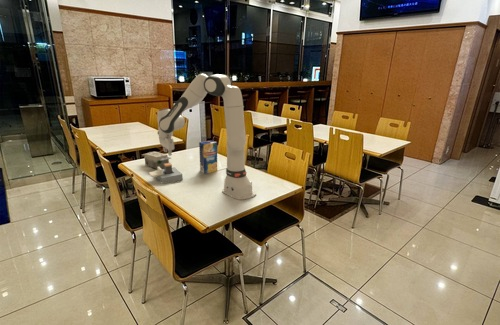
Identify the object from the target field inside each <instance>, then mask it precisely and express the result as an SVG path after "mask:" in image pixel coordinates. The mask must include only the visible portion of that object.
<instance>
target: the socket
mask: <svg viewBox="0 0 500 325" xmlns="http://www.w3.org/2000/svg"><path fill="white" fill-rule="evenodd" d="M154 171H158V169H156V170H154ZM162 174H163V175H159V176H155V178H157V180H158V181H159V182H160V183H161V184H167V183H173V182H177V181H182V180H183V178H184V177H183V173H181V171H179V170H178V169H177V168H176V167H173V166H172V174H166V175H165V171H164V169H162Z"/></svg>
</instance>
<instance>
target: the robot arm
mask: <svg viewBox="0 0 500 325" xmlns="http://www.w3.org/2000/svg"><path fill="white" fill-rule="evenodd" d="M207 94H209V95H211V96H216V97H219V98H220V97H222V99H223V107H224V108H223V109H224V120H225V129H226V130H225V132H226V169H225V174H226V175H225V178H224V183H223V189H222V191H221V192H222V193H223V194H225V195H227V196H229V197H231V198H233V199H235V200H239V201H240V200H247V199H251V198H253V197H255V196H257V192H256V191H254V190H253V182H252V181H250V180H249V179H250V178H248V176H247V173H248V172H247V170H246V166H245V162H246V154H245V153H246V152H245V151H246V150H245V146H246V144H247V133H246V125H245V112H244V99H243V96H242V95H243V94H242V91H241V88H239V86H236V85H233V80H232V79H231V77H230V76H229V75H227V74H224V73H222V74H219V73H216V74H210V75H207V74H206V73H199V74H198V75H196V77H194V79H193V80H192V81H191V83H189V85H188V87H187V88H186V89H185V91H184V92H183V93H182V95H181V97H179V99H177V101H176V102H175V104H173V106H172V107H171V109H170V108H162V109H158V110H157V115H156V121H157V125H158V128H157V129H158V130H157V136H158V140H159V144H160V145H161V146H162V149H163V152H164V153H167V156H168V157H170V156H172V153H173V151H174V150H175V141H174V139H173V136H174V132H175V131H178V130H181V129H183V128H184V127H185V125H186V121H185V118H184V116H183V115H182V114H183V113H184V112H185V111H186V110H188V109H190V108H193V107H196V106H198V105H199V104H200V103H201V102H202V101H203V100H204V98H205V97H206V96H207Z"/></svg>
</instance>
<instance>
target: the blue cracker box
mask: <svg viewBox="0 0 500 325" xmlns="http://www.w3.org/2000/svg"><path fill="white" fill-rule="evenodd" d="M198 146H199V171H200V172H201V173H203V174H205V175H206V174H210V173H214V172H217V171H218V142H217V141H214V140H207V141H200V142H199V143H198Z"/></svg>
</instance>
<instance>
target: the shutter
mask: <svg viewBox="0 0 500 325" xmlns="http://www.w3.org/2000/svg"><path fill="white" fill-rule="evenodd" d="M156 170H158V171H155V170H154V171H149V172H148V174H149V175H150V177H156V176H159V175H163V174H162V169H161V168H160V167H157V169H156Z"/></svg>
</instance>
